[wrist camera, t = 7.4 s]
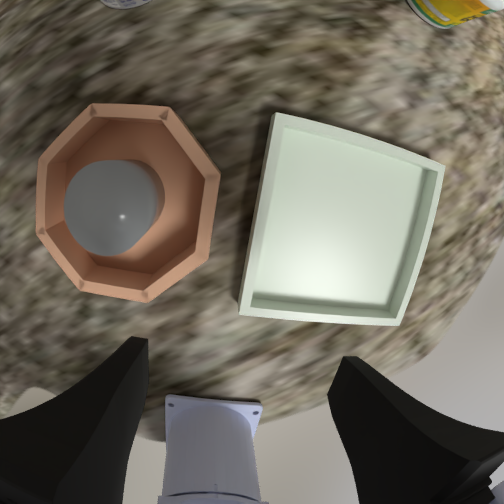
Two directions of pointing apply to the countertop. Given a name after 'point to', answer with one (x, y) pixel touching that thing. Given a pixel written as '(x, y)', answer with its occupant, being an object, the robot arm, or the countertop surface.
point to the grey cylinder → (113, 205)
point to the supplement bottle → (453, 10)
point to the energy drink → (124, 3)
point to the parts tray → (337, 226)
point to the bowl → (174, 212)
